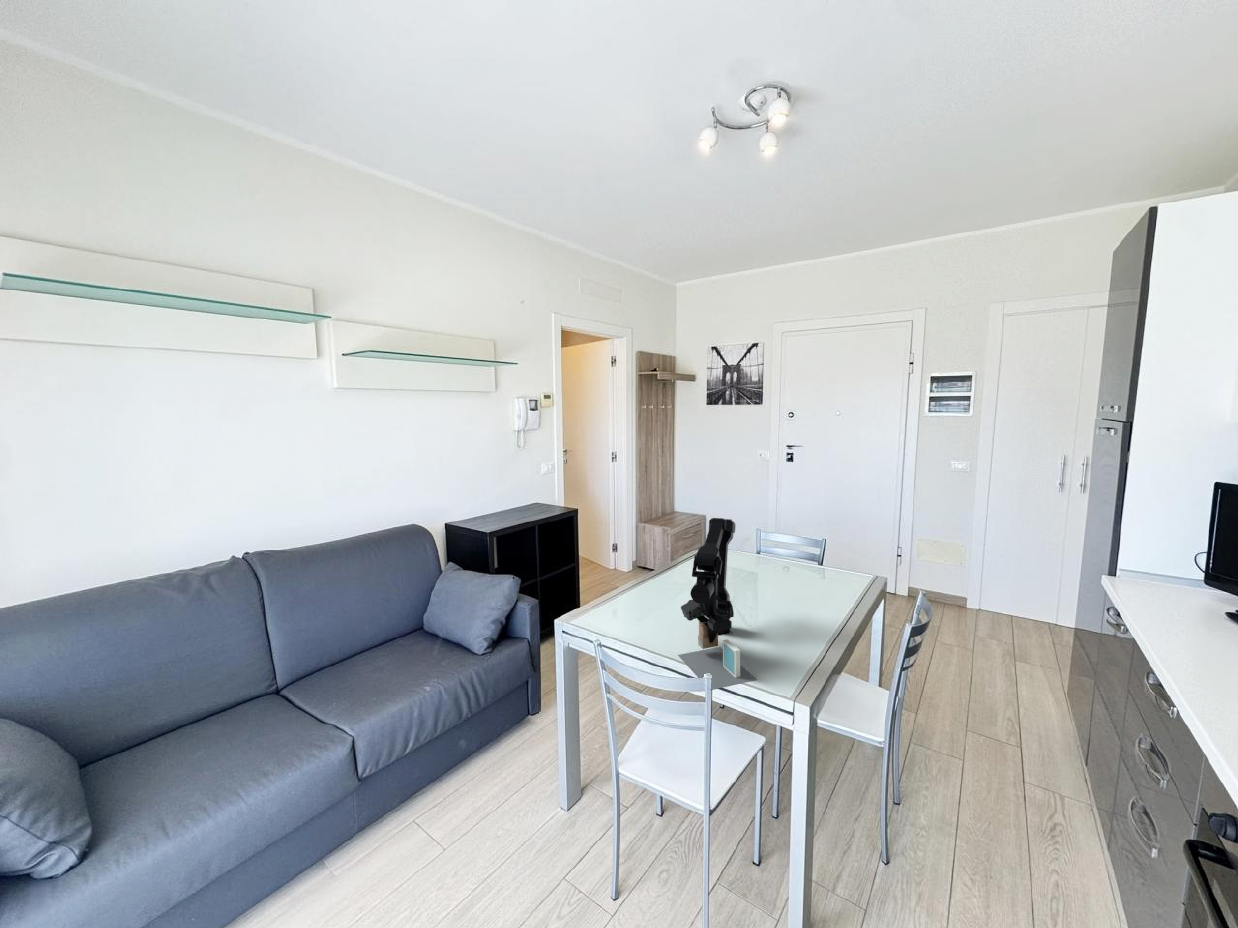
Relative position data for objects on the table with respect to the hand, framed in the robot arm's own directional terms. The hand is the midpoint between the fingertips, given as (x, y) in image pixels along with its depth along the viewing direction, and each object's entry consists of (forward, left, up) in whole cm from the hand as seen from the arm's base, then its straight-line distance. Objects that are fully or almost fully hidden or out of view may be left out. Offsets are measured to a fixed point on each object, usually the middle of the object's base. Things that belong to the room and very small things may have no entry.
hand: (708, 640), depth 155 cm
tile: (-1, +12, -4) cm, 13 cm away
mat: (+2, +8, -5) cm, 9 cm away
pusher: (0, 0, -2) cm, 2 cm away
